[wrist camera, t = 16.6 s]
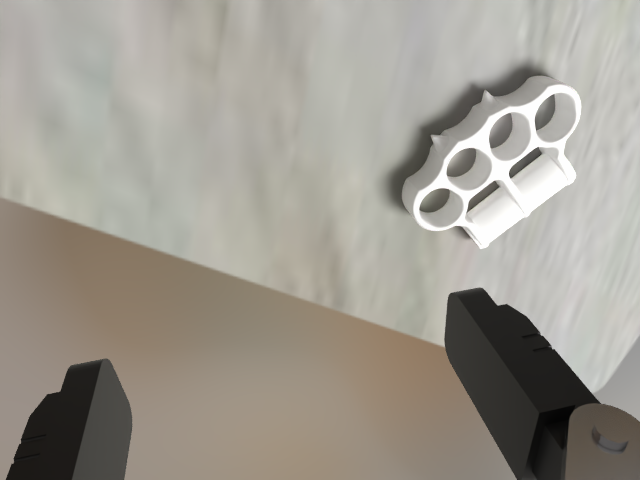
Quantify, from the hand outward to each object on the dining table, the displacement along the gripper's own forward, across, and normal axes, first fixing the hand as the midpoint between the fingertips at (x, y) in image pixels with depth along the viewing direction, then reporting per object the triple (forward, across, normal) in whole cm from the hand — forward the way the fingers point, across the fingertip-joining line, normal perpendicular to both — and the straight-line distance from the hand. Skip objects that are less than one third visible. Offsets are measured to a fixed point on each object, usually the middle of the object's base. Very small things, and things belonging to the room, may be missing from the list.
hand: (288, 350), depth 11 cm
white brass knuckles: (+33, -23, +12) cm, 42 cm away
